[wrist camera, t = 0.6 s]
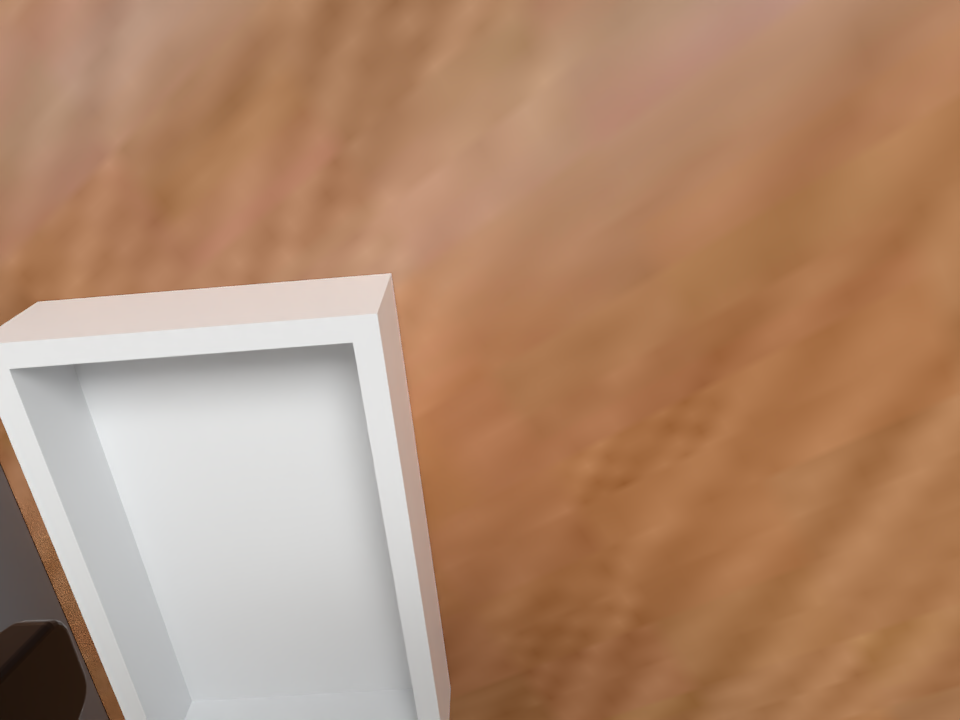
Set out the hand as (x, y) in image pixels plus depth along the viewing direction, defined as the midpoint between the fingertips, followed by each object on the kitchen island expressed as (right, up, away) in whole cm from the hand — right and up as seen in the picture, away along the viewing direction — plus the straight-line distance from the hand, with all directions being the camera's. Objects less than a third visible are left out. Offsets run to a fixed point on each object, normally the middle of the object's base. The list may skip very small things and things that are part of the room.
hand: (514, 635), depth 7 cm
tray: (-7, -2, +17) cm, 18 cm away
